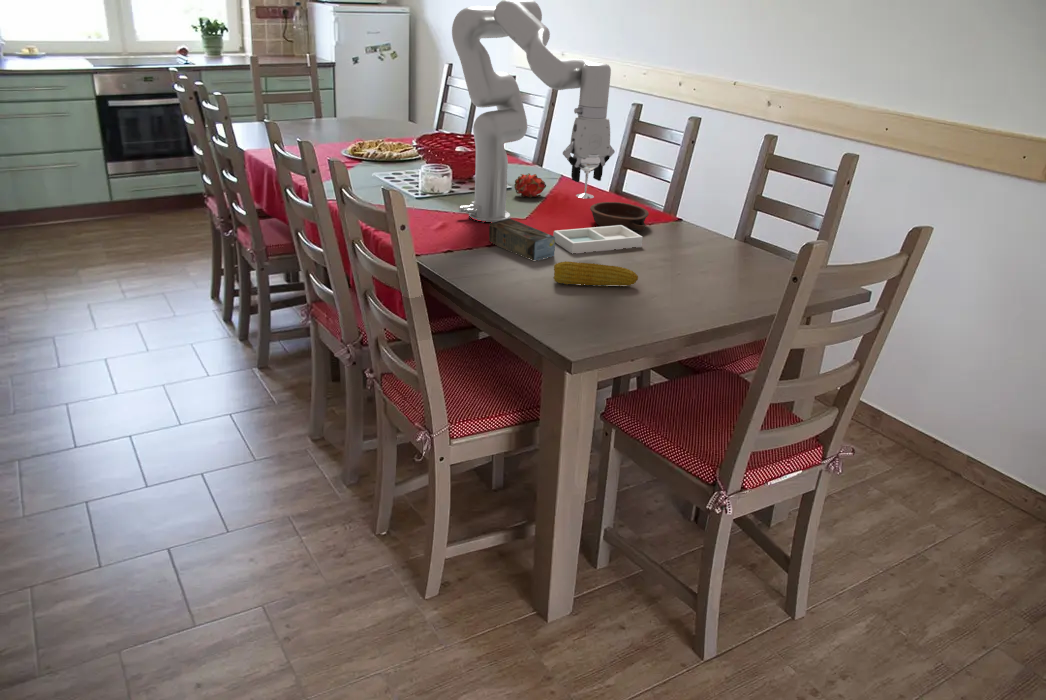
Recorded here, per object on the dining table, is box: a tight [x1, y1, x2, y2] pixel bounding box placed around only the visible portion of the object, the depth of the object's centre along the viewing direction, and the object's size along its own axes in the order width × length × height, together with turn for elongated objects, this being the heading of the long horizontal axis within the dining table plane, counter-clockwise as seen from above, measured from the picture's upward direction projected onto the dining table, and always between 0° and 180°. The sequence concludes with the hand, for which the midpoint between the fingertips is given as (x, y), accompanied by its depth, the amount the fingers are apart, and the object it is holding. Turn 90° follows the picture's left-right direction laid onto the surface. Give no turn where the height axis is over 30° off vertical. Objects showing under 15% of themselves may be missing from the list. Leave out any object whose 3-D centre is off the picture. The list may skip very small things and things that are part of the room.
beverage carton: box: [488, 217, 556, 261], centre depth 226 cm, size 8×19×7 cm, turn 42°
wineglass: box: [575, 154, 601, 200], centre depth 225 cm, size 7×7×12 cm
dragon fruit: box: [513, 173, 547, 199], centre depth 277 cm, size 8×8×12 cm
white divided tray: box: [552, 225, 643, 255], centre depth 235 cm, size 22×12×3 cm, turn 115°
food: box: [553, 260, 639, 286], centre depth 205 cm, size 21×6×6 cm, turn 93°
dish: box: [589, 201, 650, 232], centre depth 254 cm, size 18×22×5 cm
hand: (586, 179), depth 226 cm, fingers closed on wineglass, 6 cm apart
